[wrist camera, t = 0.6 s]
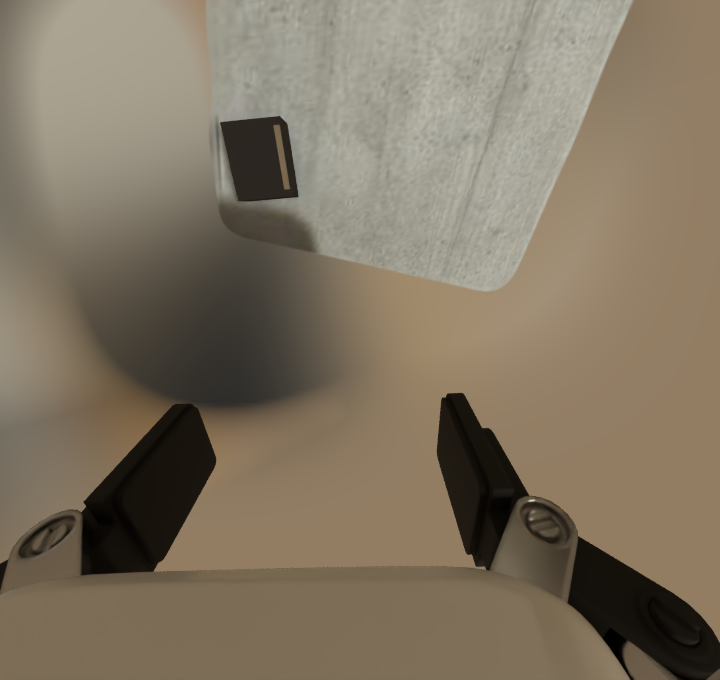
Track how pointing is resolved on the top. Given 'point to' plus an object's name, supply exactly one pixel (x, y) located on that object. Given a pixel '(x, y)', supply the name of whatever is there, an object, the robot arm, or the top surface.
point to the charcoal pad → (260, 158)
